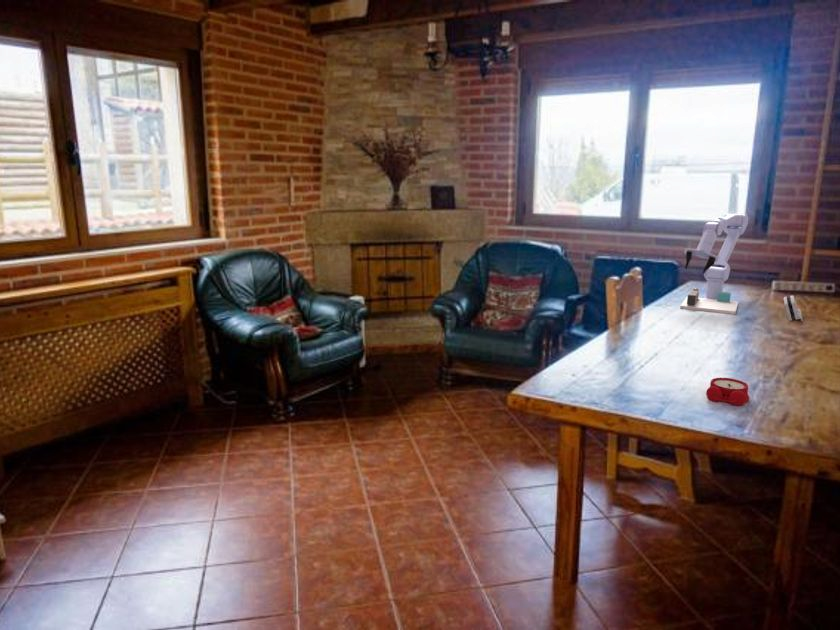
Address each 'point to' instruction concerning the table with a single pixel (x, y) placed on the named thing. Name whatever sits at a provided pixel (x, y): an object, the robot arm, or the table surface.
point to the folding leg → (693, 297)
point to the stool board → (714, 304)
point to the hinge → (792, 308)
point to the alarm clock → (728, 391)
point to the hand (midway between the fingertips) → (694, 270)
